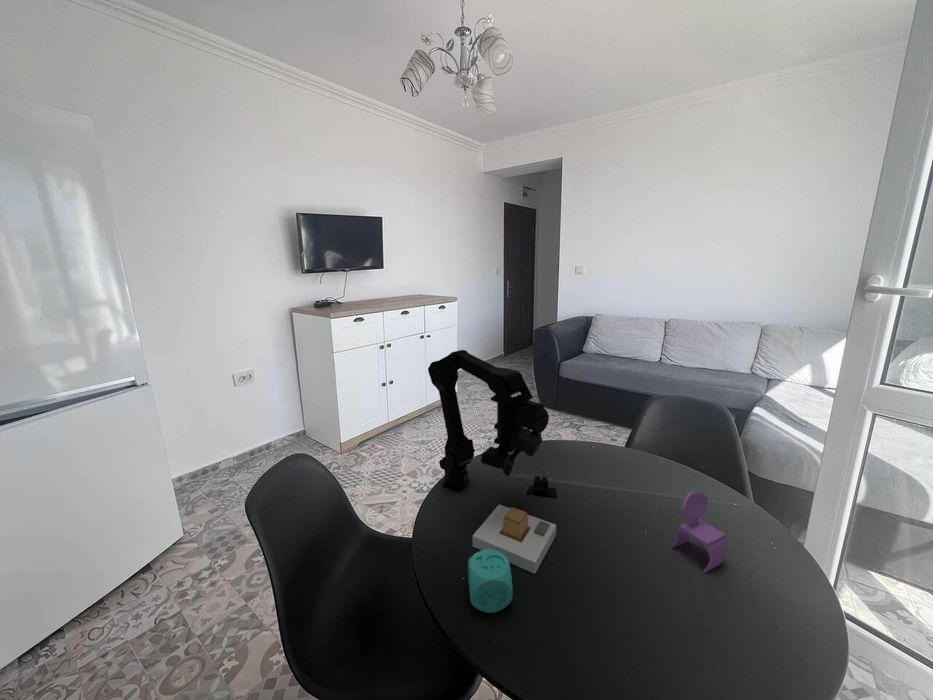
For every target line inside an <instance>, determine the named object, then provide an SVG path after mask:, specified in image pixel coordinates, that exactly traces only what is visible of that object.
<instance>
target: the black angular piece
mask: <svg viewBox="0 0 933 700" xmlns="http://www.w3.org/2000/svg"><path fill="white" fill-rule="evenodd" d="M532 483H533V484H528V485H529V486H528V487H530V488H529V489H528V490H527V491H528V492H527V491H526V494H527V495H526V496H528V495H534V496H533V497H538V496H540V497H539V498H549V499H558V498H557V497H558V495H557V494H558V493H557V488H556V487H554V488H550V487H551V486H549V479H548V476H547V477H546V476H538V475H535V476H534V479H533V481H532ZM532 485H533V486H532ZM555 488H556V489H555ZM541 496H542V497H541Z"/></svg>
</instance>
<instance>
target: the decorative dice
mask: <svg viewBox="0 0 933 700" xmlns="http://www.w3.org/2000/svg"><path fill="white" fill-rule="evenodd" d="M467 570H468V571H467V572H468V587H469V589H468V590H469V597H470V604H471V605H472V607H474V608H475V609H477V610H479V611H480V612H483V613H490V614H493V613H497V612H500V611H502V610H504V609H505V608H507V606H509V604H510V603H511V602H512V600H513V593H514V592H513V579H512V571H511V570H512V569H511V565H510V563H509V561H508V558H507V557H506V556H505V555H504V554H502V553H501V552H499V551H496V550H492V549H486V550H479V551H476V553H474V554H473V555H472V556H471V557H469V559H468V561H467Z"/></svg>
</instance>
